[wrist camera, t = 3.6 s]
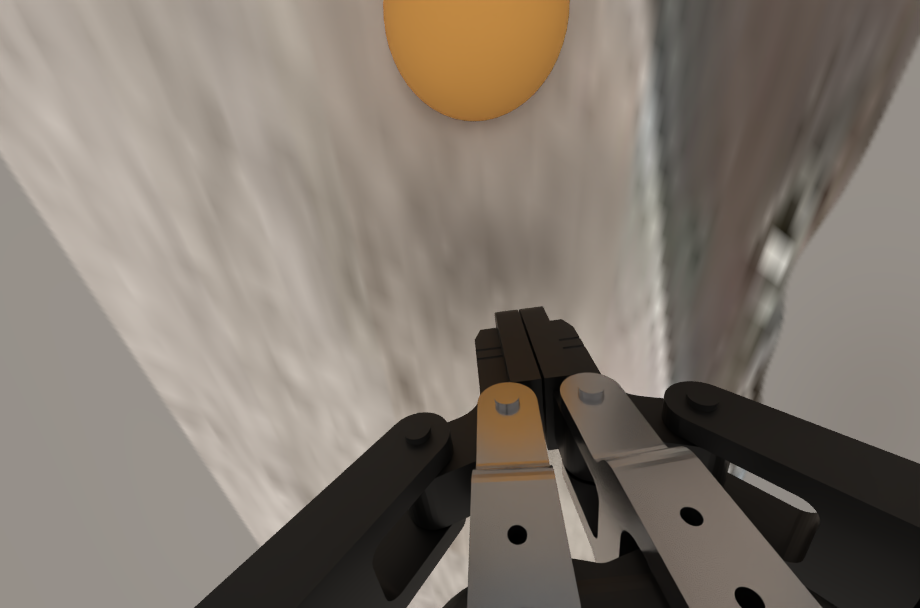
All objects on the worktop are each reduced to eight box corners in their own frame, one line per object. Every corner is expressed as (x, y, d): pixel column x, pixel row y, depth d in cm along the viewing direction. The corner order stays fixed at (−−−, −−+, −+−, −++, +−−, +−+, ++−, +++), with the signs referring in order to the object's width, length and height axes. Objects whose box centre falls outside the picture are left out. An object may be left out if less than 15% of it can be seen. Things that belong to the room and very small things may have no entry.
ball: (381, -47, 14) (336, -148, 9) (542, -76, 14) (601, -200, 8) (412, 130, 17) (394, 136, 11) (548, 108, 16) (595, 105, 11)
